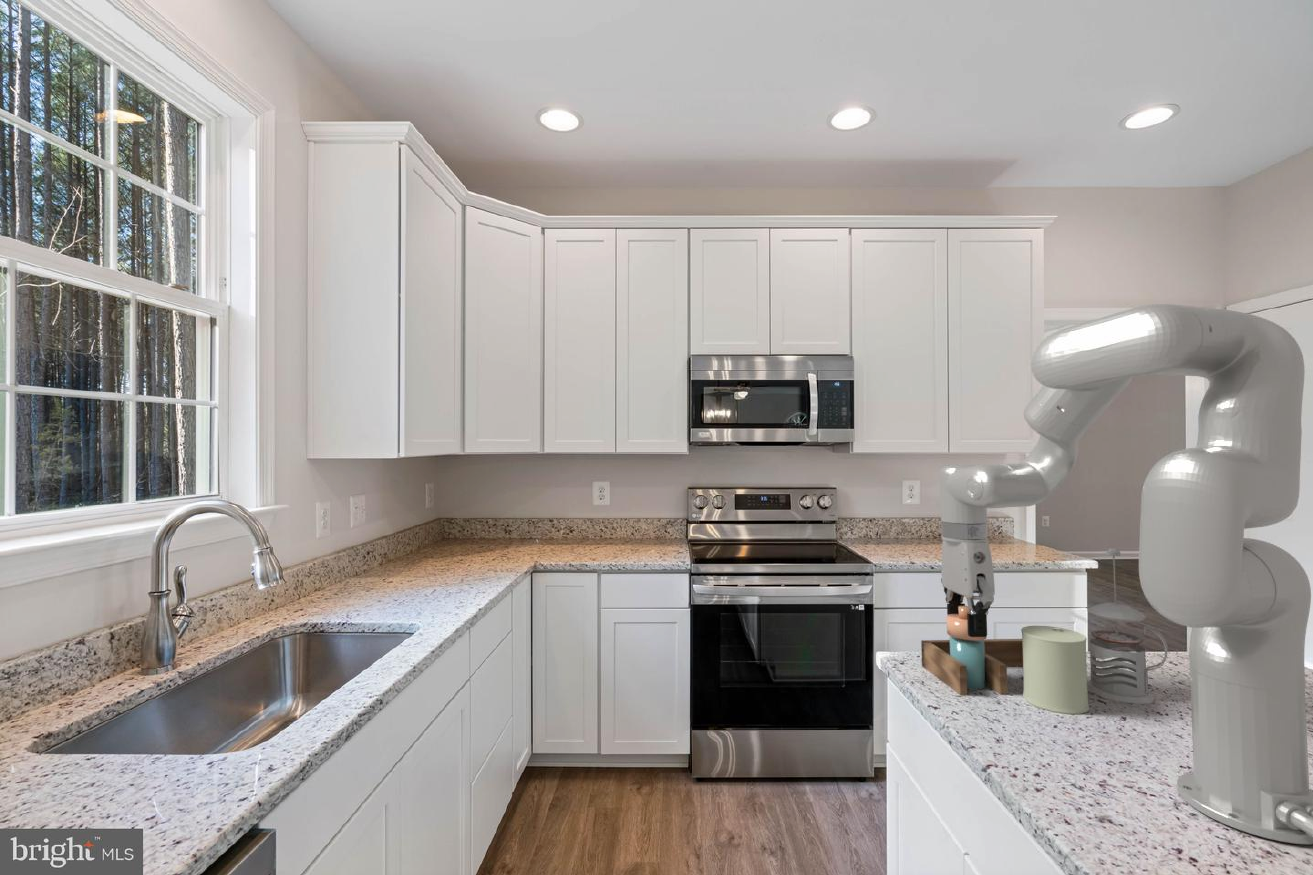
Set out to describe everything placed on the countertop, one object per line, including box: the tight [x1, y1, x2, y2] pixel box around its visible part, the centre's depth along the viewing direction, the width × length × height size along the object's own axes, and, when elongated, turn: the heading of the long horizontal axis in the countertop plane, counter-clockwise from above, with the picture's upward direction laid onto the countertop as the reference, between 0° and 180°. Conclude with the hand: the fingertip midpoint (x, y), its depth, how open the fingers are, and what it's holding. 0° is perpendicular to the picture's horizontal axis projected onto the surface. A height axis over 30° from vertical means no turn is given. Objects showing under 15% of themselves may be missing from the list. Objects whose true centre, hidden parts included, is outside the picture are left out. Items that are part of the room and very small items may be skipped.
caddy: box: [920, 638, 1023, 696], centre depth 108 cm, size 14×22×5 cm, turn 91°
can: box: [1020, 625, 1090, 715], centre depth 98 cm, size 9×9×12 cm
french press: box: [1086, 548, 1169, 705], centre depth 101 cm, size 10×12×25 cm
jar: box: [949, 635, 987, 691], centre depth 106 cm, size 6×6×8 cm
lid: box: [946, 605, 988, 640], centre depth 106 cm, size 6×6×5 cm
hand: (966, 629), depth 106 cm, fingers closed on lid, 6 cm apart
